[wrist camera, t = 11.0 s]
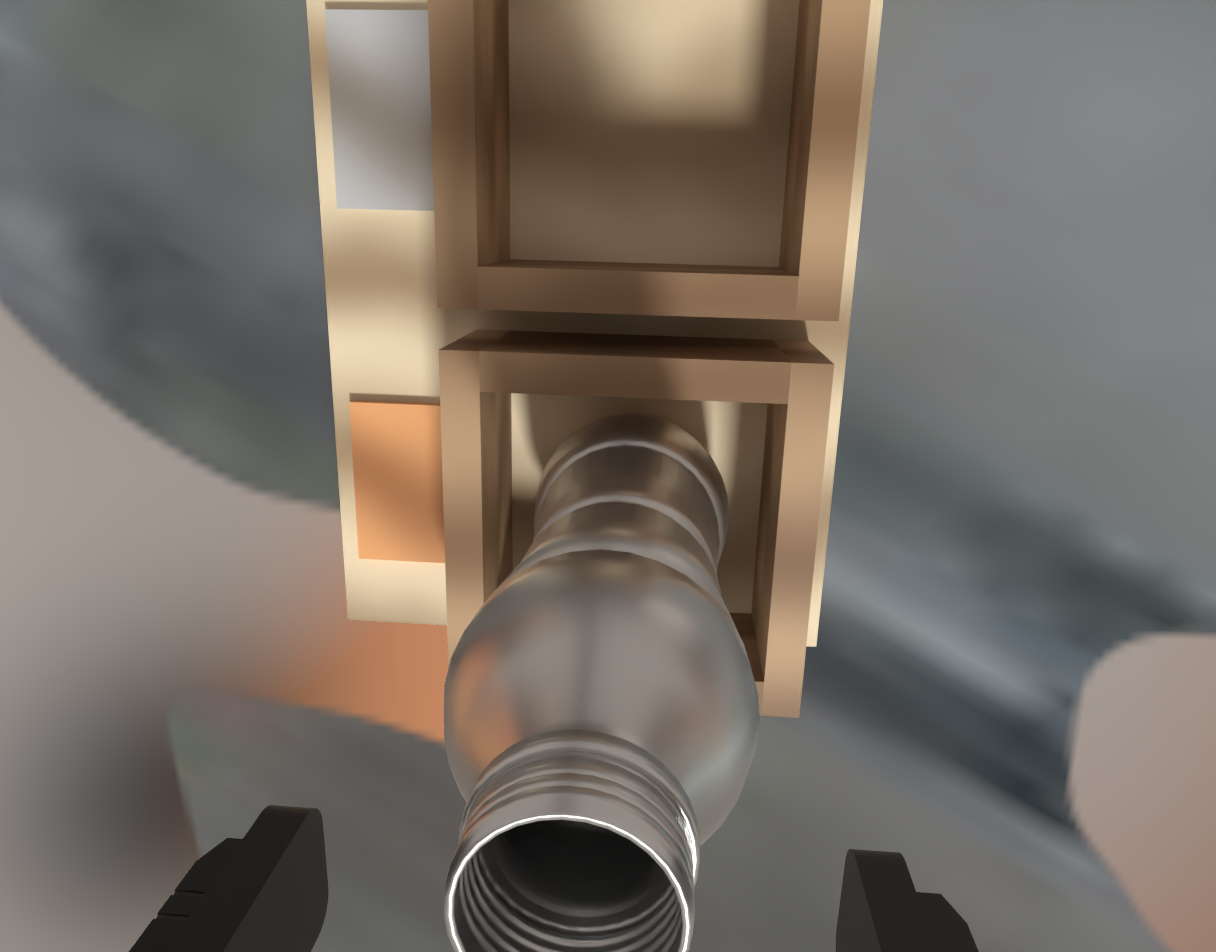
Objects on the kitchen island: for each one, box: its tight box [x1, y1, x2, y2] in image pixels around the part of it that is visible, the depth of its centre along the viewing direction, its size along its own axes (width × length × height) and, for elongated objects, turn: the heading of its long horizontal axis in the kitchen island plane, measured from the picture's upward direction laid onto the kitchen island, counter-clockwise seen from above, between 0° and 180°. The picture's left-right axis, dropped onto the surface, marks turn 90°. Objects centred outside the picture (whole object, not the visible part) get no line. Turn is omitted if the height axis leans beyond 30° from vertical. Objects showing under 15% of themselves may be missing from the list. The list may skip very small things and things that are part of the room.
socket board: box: [306, 0, 883, 718], centre depth 28 cm, size 24×18×6 cm
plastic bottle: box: [444, 412, 760, 952], centre depth 22 cm, size 6×7×20 cm
